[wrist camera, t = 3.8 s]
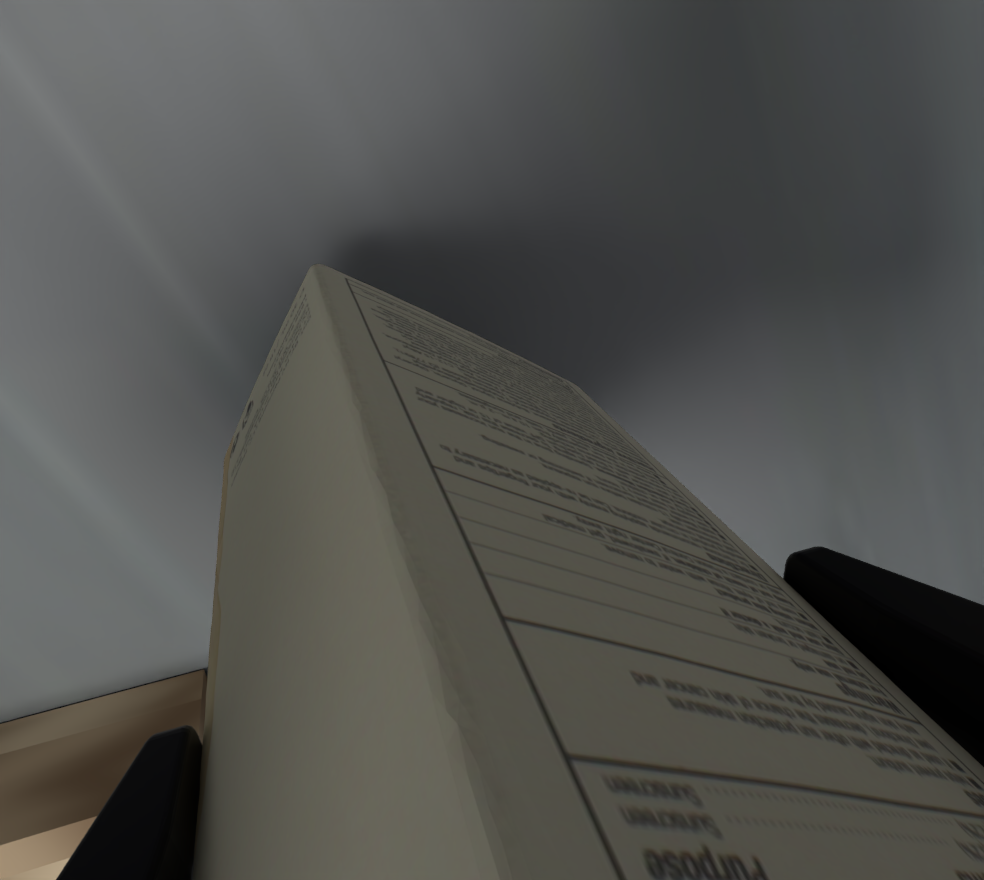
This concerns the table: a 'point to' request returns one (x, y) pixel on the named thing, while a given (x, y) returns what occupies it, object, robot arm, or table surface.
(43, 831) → the tray
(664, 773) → the skincare box
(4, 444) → the table surface
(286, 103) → the table surface
